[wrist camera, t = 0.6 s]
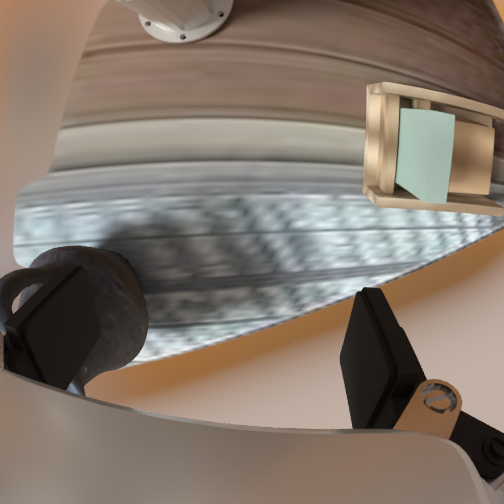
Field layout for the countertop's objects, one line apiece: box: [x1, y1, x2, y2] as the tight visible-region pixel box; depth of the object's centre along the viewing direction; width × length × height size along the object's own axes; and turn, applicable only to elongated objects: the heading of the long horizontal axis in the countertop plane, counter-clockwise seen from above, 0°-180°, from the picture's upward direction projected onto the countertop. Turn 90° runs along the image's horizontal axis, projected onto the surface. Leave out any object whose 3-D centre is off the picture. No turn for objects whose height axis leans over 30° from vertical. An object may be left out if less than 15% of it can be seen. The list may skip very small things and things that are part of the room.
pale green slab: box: [394, 108, 455, 204], centre depth 31 cm, size 9×3×12 cm, turn 1°
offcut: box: [448, 121, 495, 195], centre depth 32 cm, size 9×7×2 cm
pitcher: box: [0, 246, 148, 396], centre depth 38 cm, size 21×22×25 cm
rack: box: [362, 82, 504, 217], centre depth 34 cm, size 14×20×7 cm
